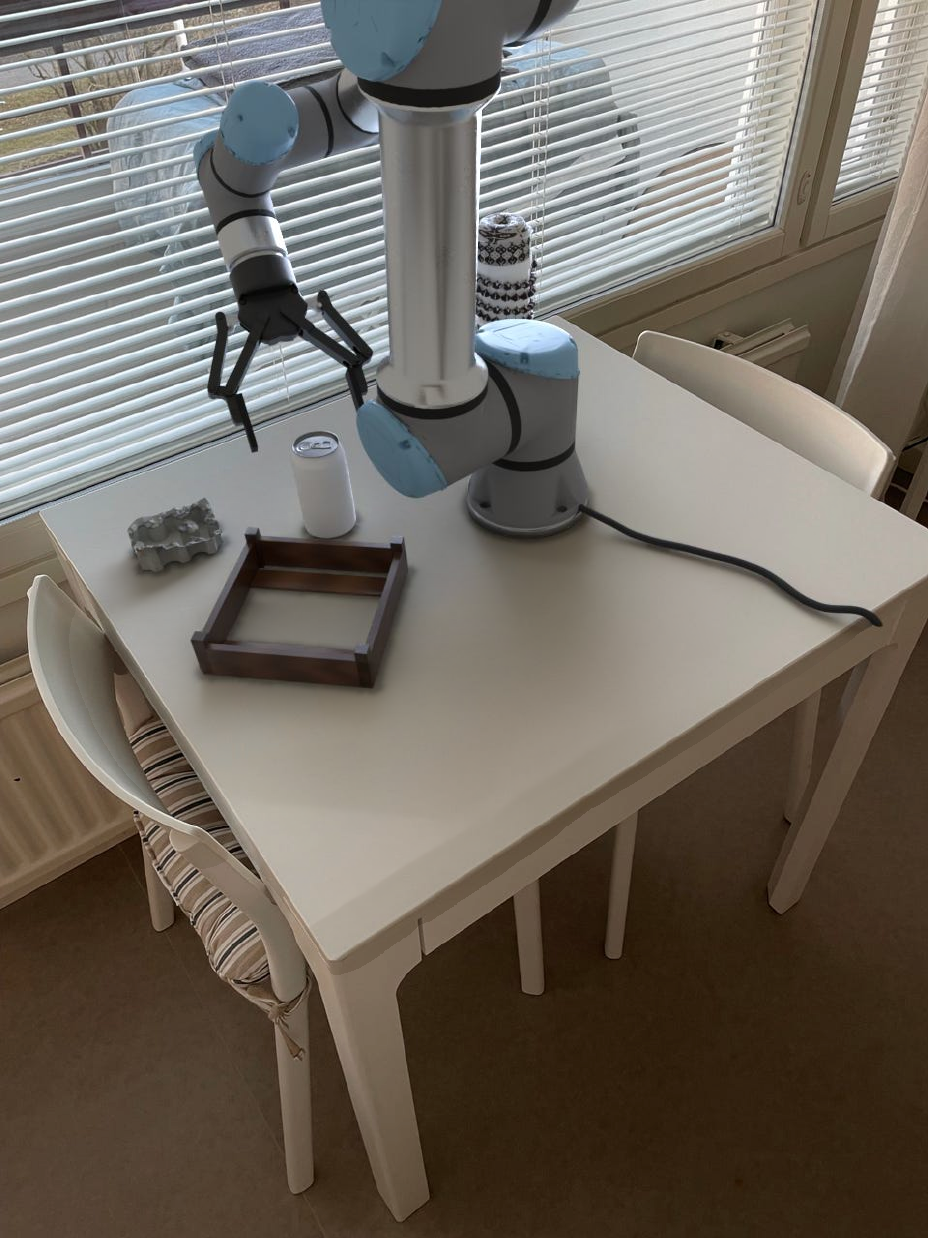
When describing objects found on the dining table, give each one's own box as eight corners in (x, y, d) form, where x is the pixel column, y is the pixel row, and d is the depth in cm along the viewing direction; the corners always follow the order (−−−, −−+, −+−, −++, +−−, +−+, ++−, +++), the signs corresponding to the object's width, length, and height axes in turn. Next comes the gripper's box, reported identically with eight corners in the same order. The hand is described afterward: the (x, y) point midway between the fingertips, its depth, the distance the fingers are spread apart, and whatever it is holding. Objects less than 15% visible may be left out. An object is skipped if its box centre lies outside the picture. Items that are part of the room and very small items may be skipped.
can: (306, 511, 120) (289, 430, 111) (356, 506, 120) (343, 426, 112) (304, 542, 115) (286, 461, 107) (356, 538, 115) (343, 456, 107)
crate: (408, 570, 110) (404, 536, 107) (373, 688, 97) (366, 654, 94) (256, 560, 113) (247, 526, 110) (202, 674, 100) (190, 640, 96)
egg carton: (141, 578, 112) (131, 552, 109) (131, 542, 117) (121, 516, 114) (228, 551, 115) (220, 525, 112) (215, 517, 120) (207, 492, 117)
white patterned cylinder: (487, 370, 143) (481, 202, 125) (544, 380, 140) (546, 209, 122) (464, 400, 137) (454, 228, 119) (523, 411, 134) (522, 236, 117)
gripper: (354, 259, 118) (403, 419, 119) (157, 299, 113) (208, 468, 113) (361, 231, 111) (413, 402, 111) (150, 273, 105) (205, 453, 106)
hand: (310, 436), depth 112 cm, fingers open, 13 cm apart
